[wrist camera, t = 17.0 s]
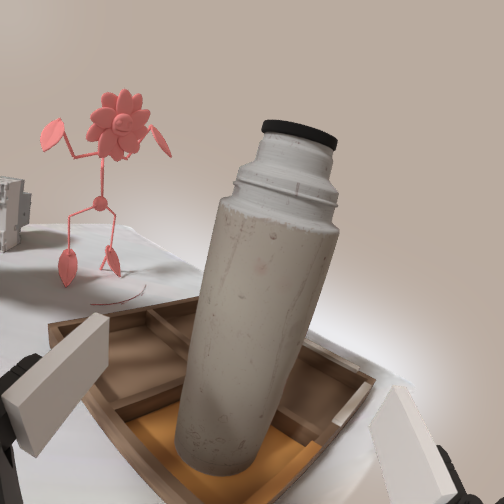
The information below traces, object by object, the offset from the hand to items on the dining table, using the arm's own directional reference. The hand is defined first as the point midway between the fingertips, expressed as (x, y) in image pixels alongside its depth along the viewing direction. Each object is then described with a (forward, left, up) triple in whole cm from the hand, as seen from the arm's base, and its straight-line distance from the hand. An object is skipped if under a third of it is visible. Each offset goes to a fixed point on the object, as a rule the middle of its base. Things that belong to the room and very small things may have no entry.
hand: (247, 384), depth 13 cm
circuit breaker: (-72, 0, -17) cm, 74 cm away
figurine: (-44, +14, -17) cm, 49 cm away
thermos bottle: (-6, +8, -16) cm, 19 cm away
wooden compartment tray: (-13, +15, -17) cm, 27 cm away
